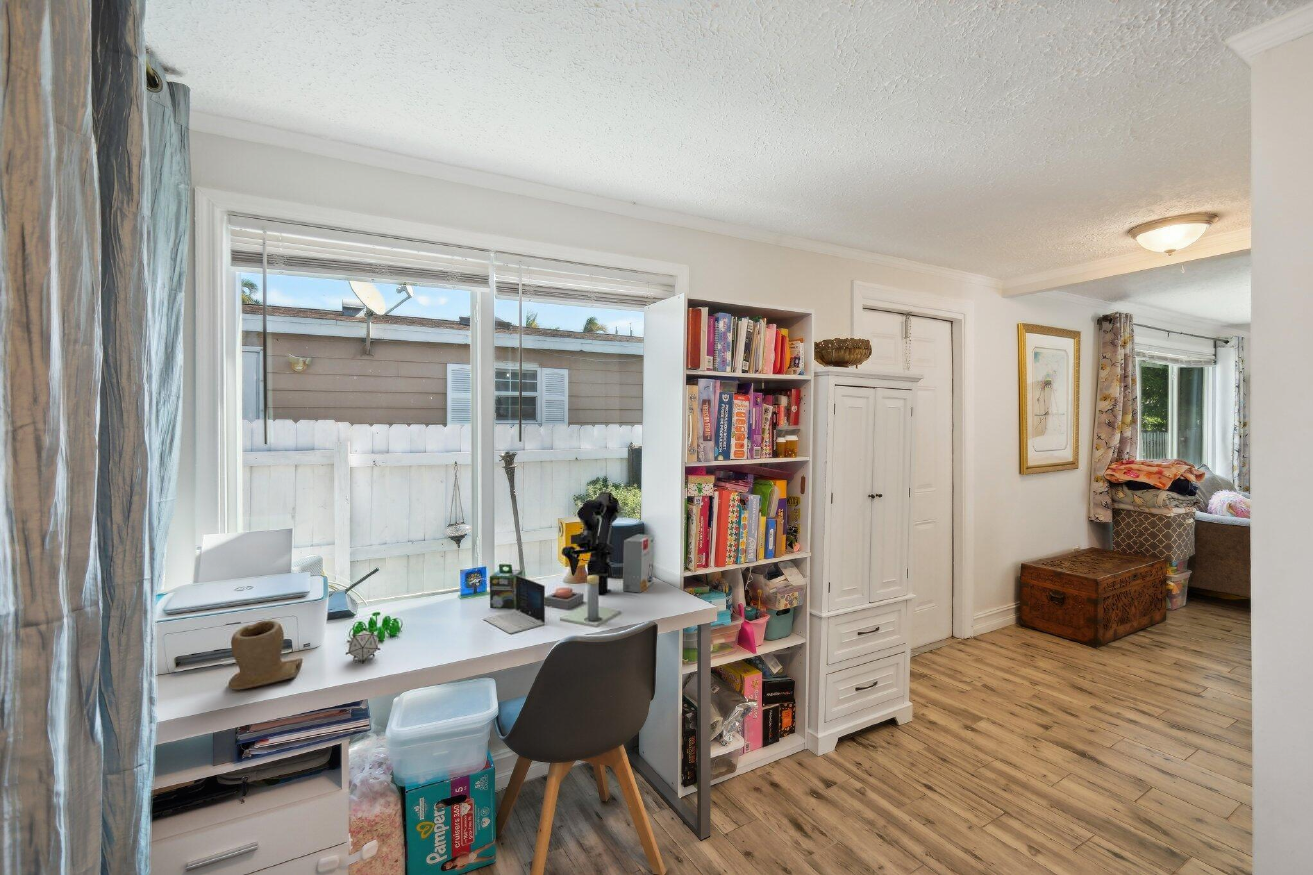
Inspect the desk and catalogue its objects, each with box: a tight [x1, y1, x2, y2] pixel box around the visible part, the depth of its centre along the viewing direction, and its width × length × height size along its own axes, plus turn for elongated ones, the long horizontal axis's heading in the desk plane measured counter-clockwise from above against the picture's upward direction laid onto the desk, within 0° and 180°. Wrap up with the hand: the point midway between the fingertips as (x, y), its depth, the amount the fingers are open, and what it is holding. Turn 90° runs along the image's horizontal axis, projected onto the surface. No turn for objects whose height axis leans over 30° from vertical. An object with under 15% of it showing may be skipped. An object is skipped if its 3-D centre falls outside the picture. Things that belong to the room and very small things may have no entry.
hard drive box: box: [622, 533, 655, 593], centre depth 225 cm, size 16×8×20 cm, turn 161°
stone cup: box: [228, 619, 303, 691], centre depth 140 cm, size 15×12×15 cm
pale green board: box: [559, 603, 622, 628], centre depth 190 cm, size 16×14×1 cm
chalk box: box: [489, 563, 523, 610], centre depth 202 cm, size 9×9×15 cm
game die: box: [345, 626, 381, 664], centre depth 154 cm, size 9×8×10 cm
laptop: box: [483, 575, 546, 635], centre depth 184 cm, size 18×12×13 cm
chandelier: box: [348, 611, 404, 642], centre depth 172 cm, size 15×15×7 cm
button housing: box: [545, 591, 584, 611], centre depth 203 cm, size 10×10×3 cm
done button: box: [555, 587, 574, 599], centre depth 203 cm, size 6×6×2 cm
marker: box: [586, 575, 600, 621], centre depth 185 cm, size 4×4×14 cm
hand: (583, 574), depth 194 cm, fingers open, 9 cm apart
